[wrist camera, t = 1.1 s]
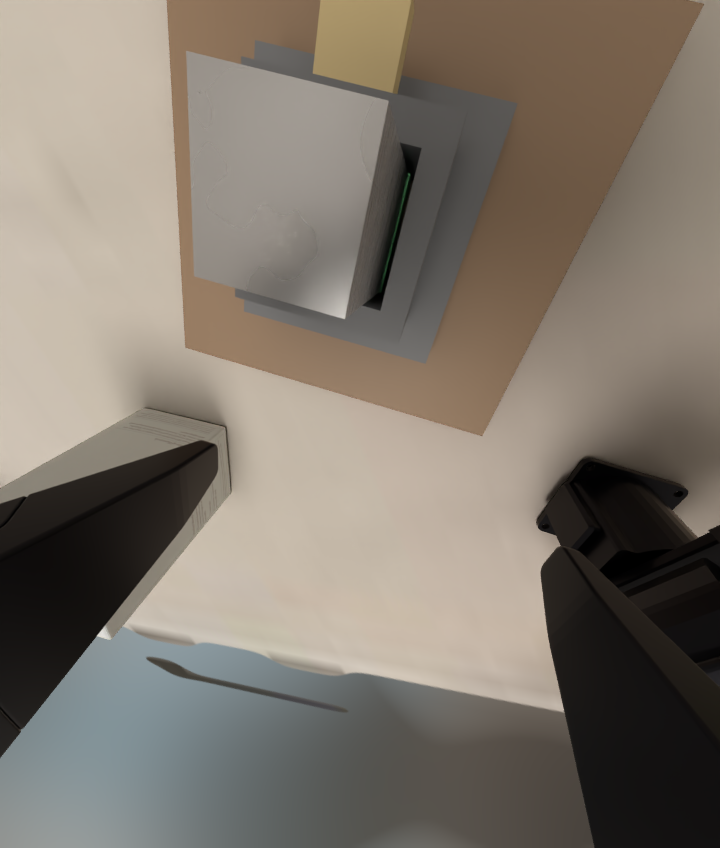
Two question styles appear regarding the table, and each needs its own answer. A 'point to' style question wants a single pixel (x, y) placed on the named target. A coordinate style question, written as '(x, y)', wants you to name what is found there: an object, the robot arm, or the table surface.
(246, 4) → the tan base plate
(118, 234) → the table surface
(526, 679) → the table surface
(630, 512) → the robot arm
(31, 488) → the supplement box
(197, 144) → the block
